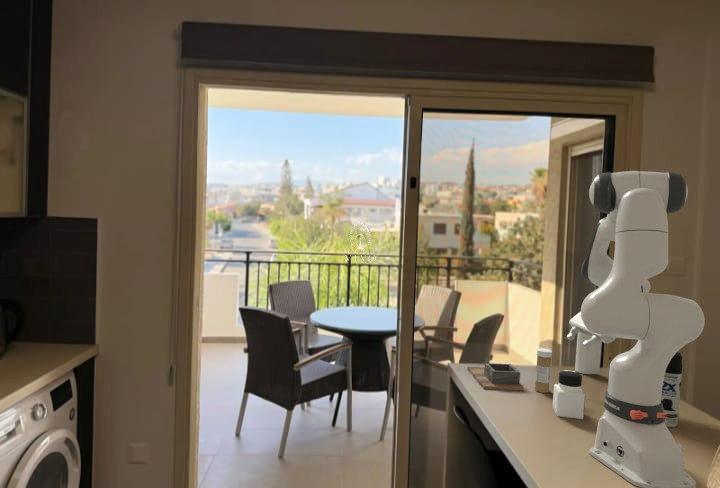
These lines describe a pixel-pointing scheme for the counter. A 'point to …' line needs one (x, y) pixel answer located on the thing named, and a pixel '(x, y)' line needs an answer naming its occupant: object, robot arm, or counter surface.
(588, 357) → the paper towel roll
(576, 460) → the counter surface
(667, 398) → the spray can
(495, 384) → the socket block
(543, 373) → the sprinkles bottle
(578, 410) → the medicine bottle
